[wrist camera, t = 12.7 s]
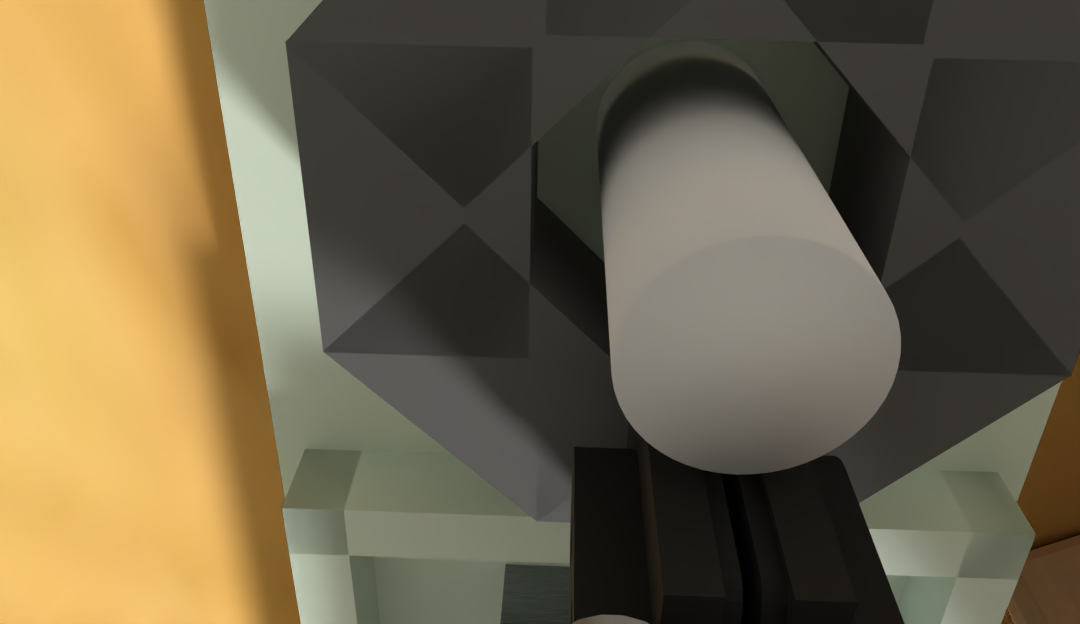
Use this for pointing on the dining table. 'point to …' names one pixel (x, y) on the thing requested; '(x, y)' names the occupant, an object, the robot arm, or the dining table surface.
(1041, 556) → the wooden block
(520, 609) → the block
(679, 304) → the chassis
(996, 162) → the faceted grey bowl
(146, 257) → the dining table surface
